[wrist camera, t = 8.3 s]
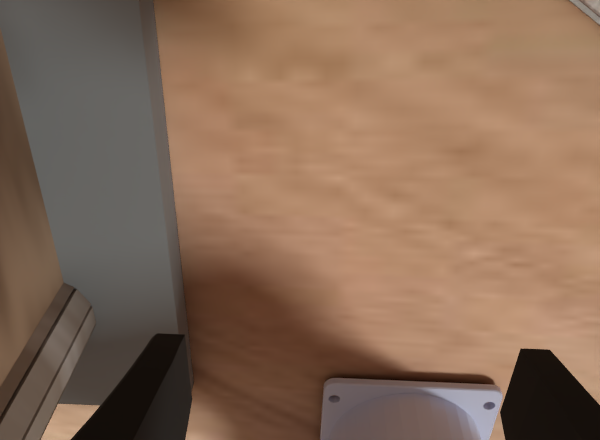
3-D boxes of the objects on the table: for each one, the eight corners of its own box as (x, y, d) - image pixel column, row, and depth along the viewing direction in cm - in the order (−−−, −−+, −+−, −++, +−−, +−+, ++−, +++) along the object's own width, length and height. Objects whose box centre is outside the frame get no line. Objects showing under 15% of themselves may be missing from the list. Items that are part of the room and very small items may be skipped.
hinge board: (193, 382, 26) (172, 470, 23) (-21, 373, 27) (-78, 459, 23) (149, -40, 17) (98, -10, 13) (-187, -52, 17) (-334, -25, 13)
